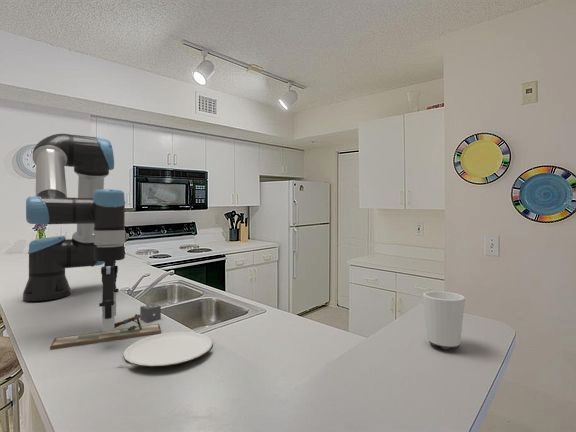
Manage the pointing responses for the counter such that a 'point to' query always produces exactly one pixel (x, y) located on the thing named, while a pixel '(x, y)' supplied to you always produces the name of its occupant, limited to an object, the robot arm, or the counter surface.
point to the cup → (444, 318)
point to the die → (150, 313)
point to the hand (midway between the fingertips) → (109, 322)
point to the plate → (168, 349)
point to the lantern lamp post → (125, 321)
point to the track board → (104, 336)
